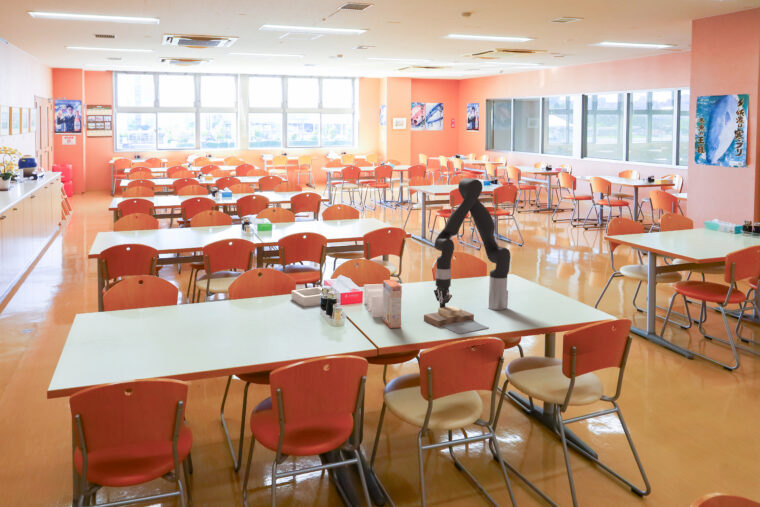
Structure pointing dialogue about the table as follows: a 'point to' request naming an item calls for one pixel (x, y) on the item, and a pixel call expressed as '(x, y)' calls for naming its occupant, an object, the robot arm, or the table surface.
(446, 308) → the maple tile
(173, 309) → the table surface
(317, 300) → the holder corral
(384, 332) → the table surface
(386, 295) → the cracker box
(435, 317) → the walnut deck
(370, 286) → the storage container
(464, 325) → the rubber mat
